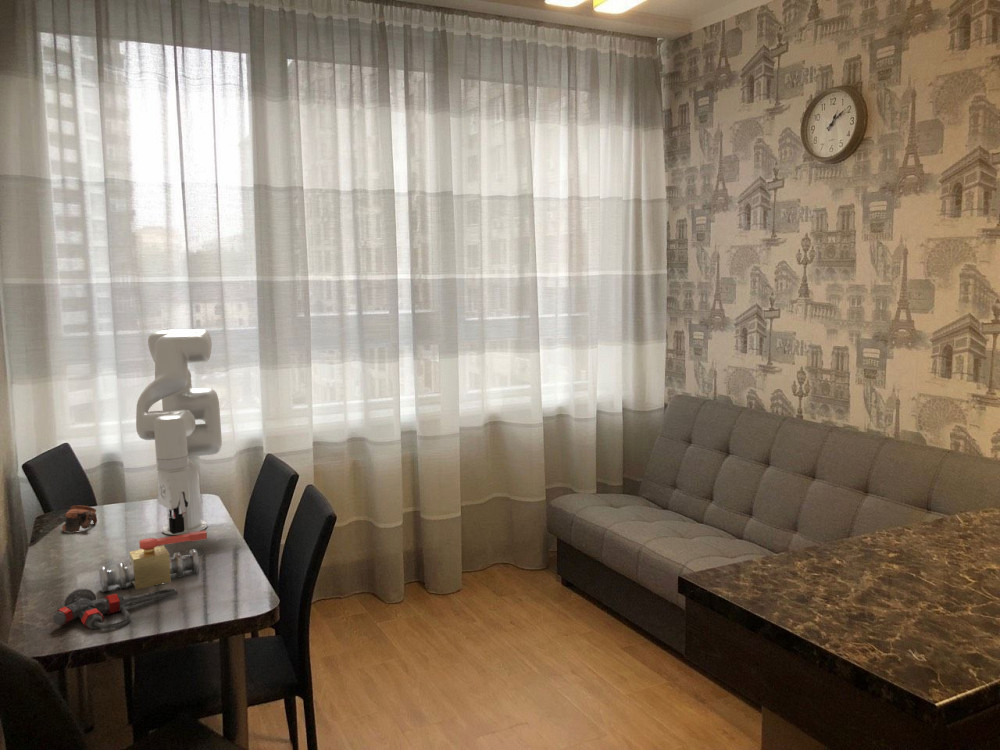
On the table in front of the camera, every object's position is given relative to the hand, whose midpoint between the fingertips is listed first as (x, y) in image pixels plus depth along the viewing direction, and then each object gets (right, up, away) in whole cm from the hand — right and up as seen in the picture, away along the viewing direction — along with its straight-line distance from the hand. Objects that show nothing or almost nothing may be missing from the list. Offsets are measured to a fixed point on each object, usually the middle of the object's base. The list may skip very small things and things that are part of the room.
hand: (177, 531), depth 206 cm
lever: (+2, -1, -8) cm, 8 cm away
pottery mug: (-44, -6, +36) cm, 57 cm away
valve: (-1, -13, -29) cm, 32 cm away
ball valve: (-3, -10, -10) cm, 14 cm away
